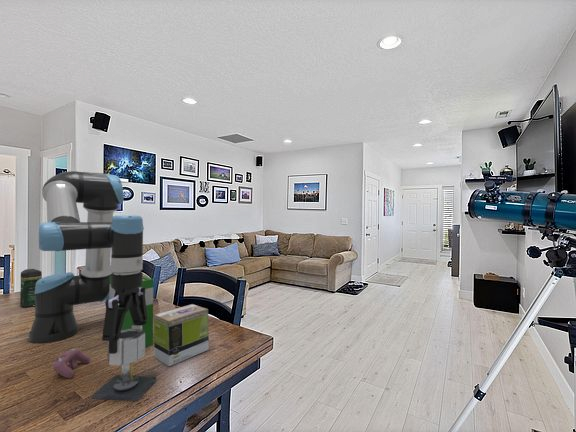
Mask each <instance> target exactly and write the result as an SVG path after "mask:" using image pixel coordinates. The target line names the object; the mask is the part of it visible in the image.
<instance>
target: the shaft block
mask: <svg viewBox="0 0 576 432" xmlns="http://www.w3.org/2000/svg"><path fill="white" fill-rule="evenodd" d="M120 366H121V367H120V368H121V373H120V374H116V375H114V376H113V377H112V378H110V379H109V380H108V381H107V382H105V384H103V385H102V386H101V387H99V388H98V389H97V390H96V391H95V392H93V393H92V399H98V400H114V401H128V402H138V401H140V399H141V398H142V397H143V396H144V395H145V394H146V393H147V391H149V389H151V388H152V386H153V385H154V384H155V383H156V382H157V376H145V375H143V376H142V375H134V362H131V363H128V364H124V365H120Z"/></svg>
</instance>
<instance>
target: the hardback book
mask: <svg viewBox="0 0 576 432" xmlns="http://www.w3.org/2000/svg"><path fill="white" fill-rule="evenodd" d="M139 288H145V300H146V309H147V320H144V321H146V324H145V325H142V330H143V331H144V332H145V349H146V348H149V347H151V346H154V278H151V277H147V276H143V284H142V285H141V286H140V287H139ZM114 295H115V290H114V289H113V288H112V287H111V276H110V291H109V299H112V298H114ZM118 309H124V308H119V307H118ZM142 316H143V315H142ZM132 325H135V324H134V323H133V320H132V317H131V314H130V311H129V309H128V312H126V314H125V318H124V321H123V325H122V329H121V330H126V329H132Z"/></svg>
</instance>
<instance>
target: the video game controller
mask: <svg viewBox="0 0 576 432" xmlns="http://www.w3.org/2000/svg"><path fill="white" fill-rule="evenodd" d="M78 362H80V363H83V364H89V363H91V357H90V356H89V355H88V354H86V353H84V352H83V351H82V350H80V348H79V349H78V348H71V349H69V350H67V351H64V352H62V354H60V356H58V357H57V359H56V360H55V361H54V362H53V365H52V367H53V370H54V372H56V373H58V374H59V375H61V376H62V377H64V378H67V379H73V377H74V376H75V372H74V370H73V369H75V368H76V367H78V364H79V363H78Z"/></svg>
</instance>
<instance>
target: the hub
mask: <svg viewBox="0 0 576 432" xmlns="http://www.w3.org/2000/svg"><path fill="white" fill-rule="evenodd" d="M119 338H120V339H122V347H121V365H124V364H128V363H131V362H133V363H135V362H138V361H139V360H141V359H142V358H143V357H144V356H145V355H146V348H145V332H144V331H143V330H142V329H126V330H121V333H120V337H119ZM107 361H108V362H109V341H107ZM121 365H120V366H121Z"/></svg>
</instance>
